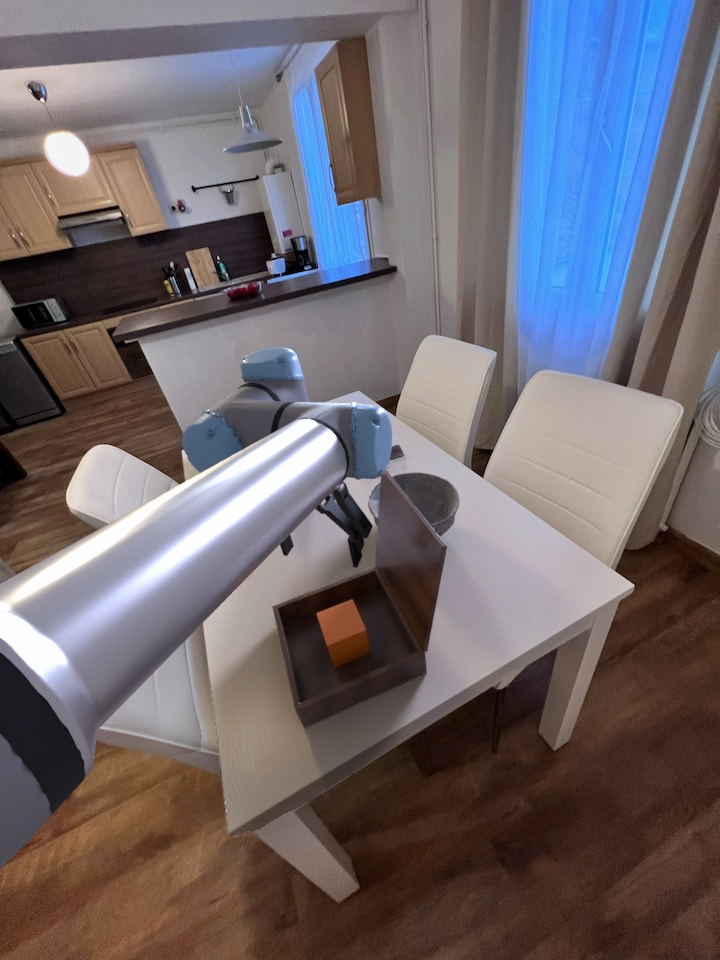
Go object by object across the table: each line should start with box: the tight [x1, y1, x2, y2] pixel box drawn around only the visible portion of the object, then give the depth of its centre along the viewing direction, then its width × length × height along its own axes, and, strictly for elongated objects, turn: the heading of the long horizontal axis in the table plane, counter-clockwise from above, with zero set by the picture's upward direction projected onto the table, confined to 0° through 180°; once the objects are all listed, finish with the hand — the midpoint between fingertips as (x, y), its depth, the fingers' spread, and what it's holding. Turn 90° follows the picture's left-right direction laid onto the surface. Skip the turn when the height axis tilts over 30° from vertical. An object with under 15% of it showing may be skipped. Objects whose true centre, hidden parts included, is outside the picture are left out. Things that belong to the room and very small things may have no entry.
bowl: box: [367, 471, 460, 537], centre depth 94 cm, size 21×21×10 cm
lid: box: [374, 469, 448, 653], centre depth 67 cm, size 23×21×4 cm
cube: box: [316, 599, 371, 668], centre depth 72 cm, size 7×7×7 cm
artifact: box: [389, 444, 405, 461], centre depth 123 cm, size 4×14×2 cm, turn 109°
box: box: [271, 566, 428, 729], centre depth 73 cm, size 22×21×6 cm
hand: (322, 556), depth 72 cm, fingers open, 13 cm apart
